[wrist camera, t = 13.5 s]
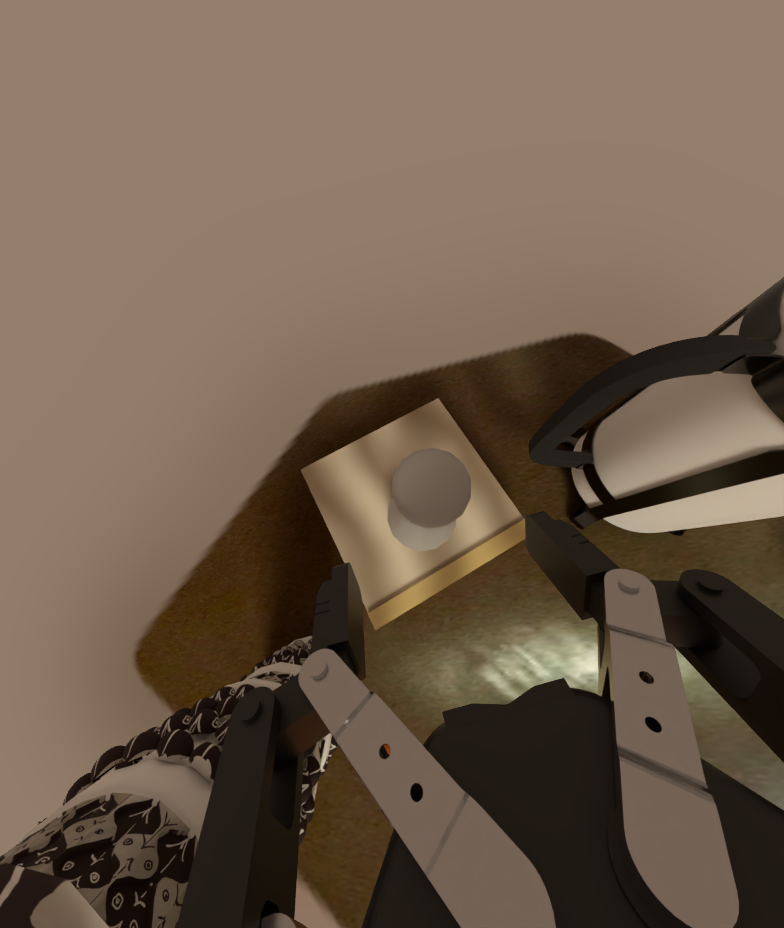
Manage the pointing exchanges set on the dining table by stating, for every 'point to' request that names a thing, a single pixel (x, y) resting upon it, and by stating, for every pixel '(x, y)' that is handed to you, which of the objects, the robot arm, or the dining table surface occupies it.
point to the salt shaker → (428, 498)
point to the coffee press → (681, 430)
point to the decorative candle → (139, 819)
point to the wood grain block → (366, 511)
